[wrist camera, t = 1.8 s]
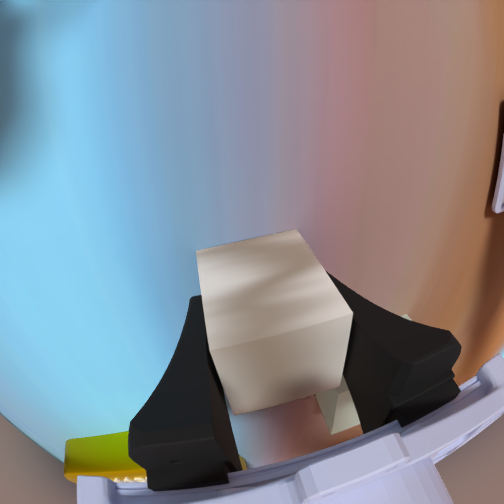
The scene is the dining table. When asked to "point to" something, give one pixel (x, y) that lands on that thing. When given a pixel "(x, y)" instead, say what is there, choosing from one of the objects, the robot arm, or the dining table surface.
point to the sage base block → (339, 406)
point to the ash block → (272, 320)
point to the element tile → (104, 459)
